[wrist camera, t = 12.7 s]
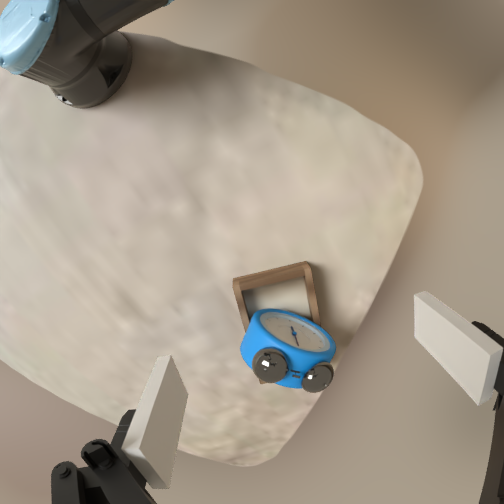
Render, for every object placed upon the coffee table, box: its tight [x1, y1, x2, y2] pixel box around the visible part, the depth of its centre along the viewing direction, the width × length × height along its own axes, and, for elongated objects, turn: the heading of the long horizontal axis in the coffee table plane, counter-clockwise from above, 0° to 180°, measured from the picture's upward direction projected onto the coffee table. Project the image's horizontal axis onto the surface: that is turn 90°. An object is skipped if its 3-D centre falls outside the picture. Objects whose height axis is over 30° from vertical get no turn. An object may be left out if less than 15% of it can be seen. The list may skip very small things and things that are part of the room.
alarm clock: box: [240, 308, 336, 393], centre depth 44 cm, size 13×6×15 cm, turn 70°
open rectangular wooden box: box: [233, 261, 321, 384], centre depth 51 cm, size 19×12×4 cm, turn 13°
